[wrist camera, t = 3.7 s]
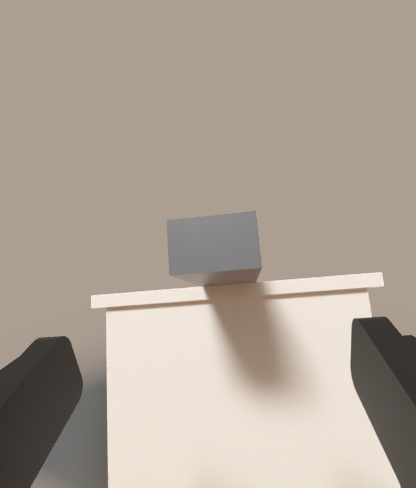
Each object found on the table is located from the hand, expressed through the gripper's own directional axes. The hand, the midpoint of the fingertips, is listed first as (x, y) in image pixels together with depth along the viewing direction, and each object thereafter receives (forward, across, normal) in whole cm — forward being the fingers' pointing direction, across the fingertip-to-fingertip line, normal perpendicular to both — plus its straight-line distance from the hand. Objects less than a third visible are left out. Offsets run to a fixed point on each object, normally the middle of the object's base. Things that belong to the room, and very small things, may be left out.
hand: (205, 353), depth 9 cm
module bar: (+15, 0, +6) cm, 16 cm away
